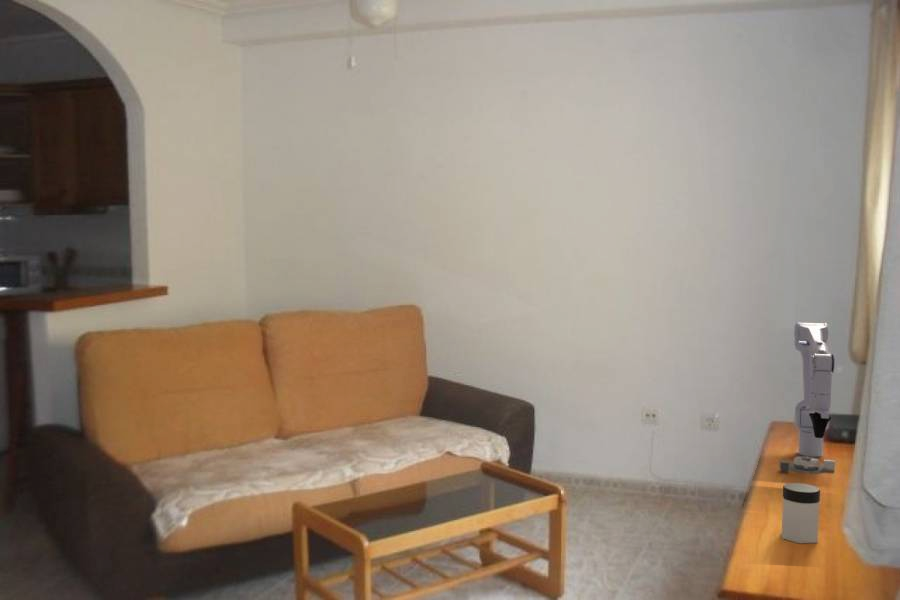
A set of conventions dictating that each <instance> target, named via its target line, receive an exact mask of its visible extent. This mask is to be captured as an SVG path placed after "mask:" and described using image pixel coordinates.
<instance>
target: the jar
mask: <svg viewBox="0 0 900 600" xmlns="http://www.w3.org/2000/svg"><path fill="white" fill-rule="evenodd" d="M820 497H821V489H820V488H819V487H817V486H815V485H811V484H807V483H799V482H793V483H792V482H790V483H785V484H783V486H782V515H781V516H782V517H781V520H782V521H781V539H783V540H786V541H788V542H789V541H790V542H793V543H796V544H818V542H819V541H818V539H819V520H820V519H819V517H820V499H821V498H820Z"/></svg>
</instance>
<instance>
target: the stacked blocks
mask: <svg viewBox="0 0 900 600" xmlns="http://www.w3.org/2000/svg"><path fill="white" fill-rule="evenodd" d="M779 462H780V463H779V468H780V474H788V475H789V470H788V469H789V463H790V461H789V460H788V461H787V460H780V461H779Z"/></svg>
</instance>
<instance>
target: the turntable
mask: <svg viewBox="0 0 900 600" xmlns="http://www.w3.org/2000/svg"><path fill="white" fill-rule="evenodd" d="M835 464H836V461H835V460H833V459H823V465H820V464H819V469H818V470H816V471H805V470H799V469H796V468H794V461H793V462H789V469H788V471H791V472H795V473H802V474H809V475H810V474H816V475H818V474H826V473H828V472H835V471H836V468H835V466H836V465H835Z"/></svg>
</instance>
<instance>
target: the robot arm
mask: <svg viewBox="0 0 900 600" xmlns="http://www.w3.org/2000/svg"><path fill="white" fill-rule="evenodd" d="M793 332H794V346H795V350H796V351H799V352H800V354H801V358H802V378H803V379H802V380H803V381H802V383H803V400H801V401H800V402H798V403H797V404H796V405H795V407H794V426H795V428H796V429H798V430H799V431H798V451H796V454H799V455H801V456H807V457H811V458H817V457H823V455H824V453H823V451H824V450H823V449H824V448H823V447H824V436H825V432H826V431H827V430H828V429H829V428H830V420H831V419H832V417H831V415H830V413H831V411H832V408H831V404H832V402H831V400H832V381H833V379H832V378H833V373H834V371H835V364H836V363H835V362H836V361H835V355H834V353H833V352H832V353H831V352H830V351H829V347H828V345H827V344H828V339H829V326H828V324H827V322H824V323H821V322H799V321H796V323H795V324H794V331H793Z"/></svg>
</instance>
